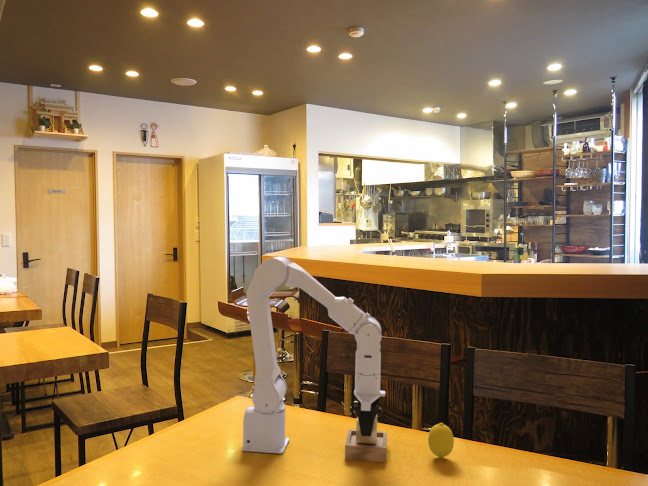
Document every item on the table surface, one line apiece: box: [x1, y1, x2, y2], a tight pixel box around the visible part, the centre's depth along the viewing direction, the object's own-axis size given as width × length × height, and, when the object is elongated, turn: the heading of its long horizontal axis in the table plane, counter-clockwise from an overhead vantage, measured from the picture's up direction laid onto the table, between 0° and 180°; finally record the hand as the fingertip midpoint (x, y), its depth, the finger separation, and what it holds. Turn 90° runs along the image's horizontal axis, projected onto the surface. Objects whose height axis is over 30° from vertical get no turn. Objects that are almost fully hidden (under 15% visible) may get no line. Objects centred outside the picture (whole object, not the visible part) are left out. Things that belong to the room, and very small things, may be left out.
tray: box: [344, 428, 388, 463], centre depth 119 cm, size 9×9×3 cm
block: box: [355, 414, 378, 444], centre depth 119 cm, size 4×4×5 cm
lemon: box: [427, 422, 455, 459], centre depth 116 cm, size 6×6×8 cm
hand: (366, 431), depth 119 cm, fingers closed on block, 4 cm apart
